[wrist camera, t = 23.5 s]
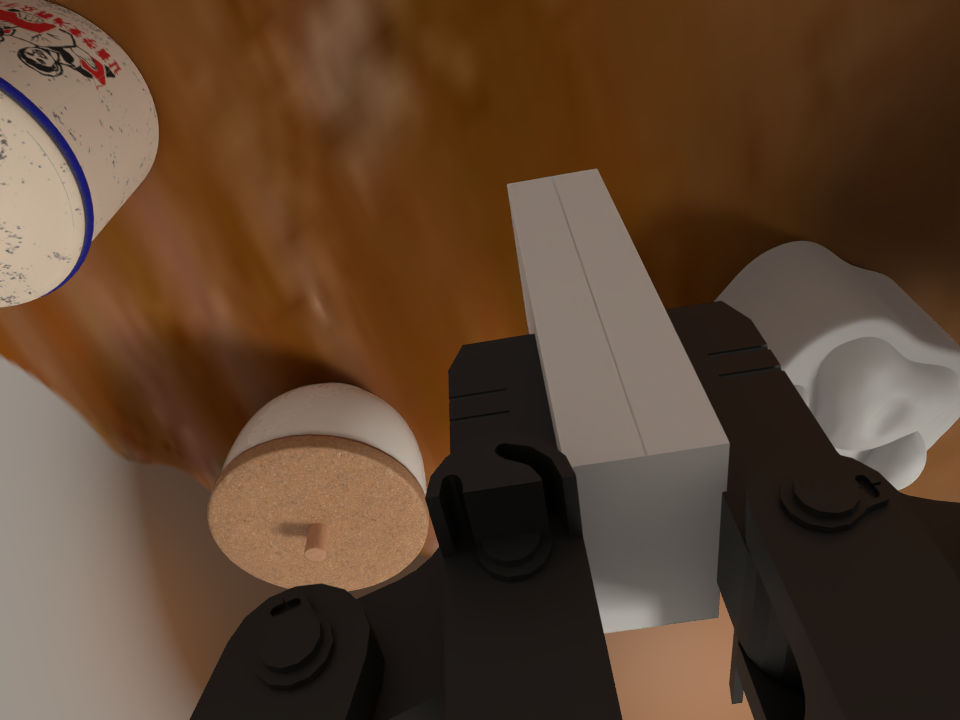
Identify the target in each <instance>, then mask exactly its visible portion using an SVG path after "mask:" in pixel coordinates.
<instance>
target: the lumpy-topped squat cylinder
mask: <svg viewBox="0 0 960 720" xmlns="http://www.w3.org/2000/svg"><path fill="white" fill-rule="evenodd" d="M717 301H723V302H725V303H726V304H728V305H729V306H731V307H732V308H734V309H736V310H737V311H739V312H740V313H742V314H743V315H745V316H747V317H748V318H750V319H751V320H752V322H753V323H754V325H755V326H756V328H757V329H758V331H759V332H760V334H761V335H762V337H763V338H764V340H765V342H766V343H767V347H768V350H769V349H771V351H772V352H773V354H774V355H775V357H776V358H777V360H778V362H779V363H780V365H781V370H782V371H785V372H786V374H787V375H788V377H789V378H790V380H791V382H792V383H793V385H794V386H795V388H796V389H797V391H798V392H799V394H800V395H801V397H802V398H803V400H804V402H805V403H806V405H807V406H808V408H809V409H810V411H811V412H812V414H813V415H814V417H815V418H816V420H817V422H818V423H819V425H820V426H821V428H822V429H823V431H824V432H825V434H826V435H827V437H828V438H829V440H830V442H831V443H832V445H833V446H834V448H835V449H836V451H837V452H838V453H839V454H840V455H843V456H847V457H851V458H853V459H855V460H857V461H859V462H861V463H863V464H865V465H867V466H869V467H871V468H872V469H874V470H876V471H878V472H879V473H880V474H881V475H882V476H883V477H884V478H885V479H886V480H887V481H889V482H890V483H891V484H892V485H893V486H894V487H895V488H896V489H897V490H900V489H903V488H905V487H907V486H908V485H910V484H911V483H912V482H914V481H915V480H916V479H917V478H918V476H919V475H920V474H921V472H922V470H923V468H924V466H925V463H926V451H927V450H928V449H929V448H930V447H931V446H932V445H933V444H934V443H935V442H936V441H937V440H938V438H939V437H940V436H941V435H943V434H944V433H945V432H946V431H947V430H948V429H949V428H950V427H951V426H952V425H953V423H954V422H955V421H956V420H957V419H958V418H959V417H960V346H959V345H958V344H957V343H956V342H955V341H954V340H953V339H952V338H951V337H950V336H949V335H948V333H946V332H945V331H944V330H943V329H942V328H941V327H940V326H939V325H938V324H937V323H936V322H935V321H934V320H933V319H932V318H931V317H930V316H929V315H928V314H927V313H926V312H925V311H924V310H923V309H922V308H921V307H920V306H919V305H918V304H917V303H916V302H915V301H914V300H913V299H912V298H911V297H910V296H909V295H907V294H906V293H905V292H904V291H903V290H902V289H901V288H900V287H899V286H898V285H897V284H896V283H895V282H894V281H893V280H892V279H891V278H889V277H888V276H886V275H884V274H881V273H878V272H874V271H870V270H866V269H862V268H859V267H856V266H853V265H851V264H848V263H847V262H845V261H843V260H842V259H840V258H839V257H838V256H836V255H835V254H834V253H832V252H831V251H830V250H828V249H827V248H825V247H823V246H821V245H819V244H817V243H814V242H810V241H794V242H789V243H785V244H782V245H779V246H777V247H774V248H772V249H770V250H768V251H766V252H764V253H763V254H761V255H760V256H758V257H757V258H755V259H754V260H753V261H751V262H750V263H749V264H748V265H747V266H746V267H745V268H744V269H743V270H742V271H741V272H740V273H739V274H738V275H737V276H736V277H735V278H734V279H733V280H732V281H731V283H730V284H729V285H728V286H727V287H726V288H725V289H724V290H723V292H722V293H721V294H720V295H719V296H718V297H717V298H716V300H715V301H714V302H717Z"/></svg>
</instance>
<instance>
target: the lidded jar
mask: <svg viewBox="0 0 960 720" xmlns="http://www.w3.org/2000/svg"><path fill="white" fill-rule="evenodd" d="M425 496H426V479H425V471H424V465H423V459H422V456H421V453H420V450H419V447H418V444H417V441H416V438H415V436H414V435H413V433H412V431H411V430H410V428H409V426H408V425H407V423H406V421H405V420H404V419H403V418H402V417H401V415H400V414H399V413H398V412H397V411H396V410H395V409H394V408H393V407H391V406H390V405H389V404H388V403H387V402H385V401H384V400H382V399H381V398H379V397H377V396H376V395H374V394H372V393H370V392H367V391H366V390H364V389H361V388H359V387H357V386H353V385H350V384H345V383H336V382H328V383H320V384H312V385H307V386H302V387H299V388H296V389H293V390H290V391H288V392H286V393H283V394H282V395H280V396H278V397H276V398H274V399H272V400H271V401H270V402H268V403H267V404H266V405H264V406H263V407H262V408H261V409H260V410H258V411H257V412H256V413H255V414H254V415H253V417H252V418H251V419H250V420H249V421H248V422H247V424H246V425H245V426H244V428H243V429H242V430H241V432H240V434H239V435H238V437H237V439H236V440H235V442H234V444H233V446H232V447H231V449H230V451H229V453H228V455H227V458H226V460H225V463H224V465H223V469H222V472H221V473H220V475H219V477H218V478H217V480H216V482H215V484H214V487H213V490H212V493H211V496H210V499H209V503H208V512H207V518H208V523H209V528H210V530H211V533H212V535H213V537H214V540H215V542H216V543H217V544H218V546H219V547H220V548H221V550H222V551H223V552H224V554H225V555H226V556H227V557H228V558H229V559H230V560H231V561H232V562H234V563H235V564H236V565H237V566H239V567H240V568H241V569H243V570H245V571H246V572H248V573H250V574H251V575H253V576H255V577H257V578H259V579H262V580H264V581H267V582H268V583H272V584H274V585H277V586H281V587H284V588H289V589H290V588H293V587H295V586H302V585H311V584H320V583H323V584H327V585H330V586H334V587H338V588H341V589H345V590H346V591H352V590H357V589H362V588H365V587H369V586H373V585H375V584H378V583H380V582H382V581H385V580H387V579H389V578H391V577H392V576H394V575H396V574H398V573H399V572H400V571H402V570H403V569H404V568H405V567H407V566H408V565H409V564H410V563H411V562H412V561H413V560H414V558H415V557H416V556H417V555H418V554H419V552H420V550H421V549H422V547H423V545H424V543H425V540H426V537H427V534H428V523H429V512H428V507H427V504H426V501H425Z"/></svg>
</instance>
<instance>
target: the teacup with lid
mask: <svg viewBox="0 0 960 720" xmlns="http://www.w3.org/2000/svg"><path fill="white" fill-rule="evenodd" d="M158 141H159V126H158V118H157V113H156V109H155V105H154V102H153V99H152V96H151V94H150V91H149V89H148V86H147V85H146V83H145V81H144V79H143V77H142V75H141V74H140V72H139V70H138V69H137V67H136V66H135V64H134V63H133V62H132V60H131V59H130V58H129V56H128V55H127V54H126V53H125V52H124V51H123V49H122V48H121V47H120V46H119V45H118V44H117V43H116V42H115V41H114V40H113V39H112V38H111V37H109V36H108V35H107V34H106V33H105V32H104V31H102V30H101V29H100V28H98V27H97V26H96V25H94V24H93V23H91V22H90V21H88V20H87V19H85V18H83V17H82V16H80V15H78V14H76V13H74V12H72V11H71V10H69V9H66V8H64V7H62V6H59V5H57V4H54V3H51V2H48V1H44V0H0V307H8V306H14V305H19V304H22V303H26V302H29V301H32V300H35V299H37V298H40V297H43V296H45V295H47V294H49V293H51V292H53V291H55V290H56V289H58V288H59V287H61V286H62V285H64V284H65V283H66V282H67V281H68V280H69V279H70V278H72V276H73V275H74V274H75V273H76V272H77V271H78V269H79V268H80V266H81V265H82V263H83V262H84V260H85V258H86V256H87V253H88V251H89V248H90V245H91V242H92V241H93V240H94V238H95V237H96V236H97V235H98V234H99V232H100V231H101V230H102V229H103V228H104V227H105V225H106V224H107V223H108V222H109V221H110V219H111V218H112V217H113V216H114V215H115V213H116V212H117V211H118V210H119V209H120V207H121V206H122V205H123V204H124V203H125V202H126V200H127V199H128V198H129V197H130V196H131V194H132V193H133V192H134V191H135V190H136V188H137V187H138V186H139V185H140V184H141V182H142V181H143V180H144V179H145V178H146V176H147V174H148V173H149V171H150V169H151V167H152V165H153V163H154V160H155V157H156V153H157V149H158Z"/></svg>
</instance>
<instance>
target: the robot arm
mask: <svg viewBox="0 0 960 720" xmlns="http://www.w3.org/2000/svg"><path fill="white" fill-rule="evenodd" d="M507 189H508V196H509V202H510V209H511V216H512V223H513V230H514V236H515V243H516V250H517V257H518V264H519V270H520V277H521V284H522V291H523V298H524V304H525V311H526V318H527V324H528V329H529V335H523V336H517V337H510V338H504V339H498V340H492V341H486V342H480V343H473V344H467V345H463V346H462V347H461V349H460V351H459V353H458V354H457V356H456V358H455V360H454V362H453V363H452V365H451V367H450V369H449V370H448V375H449V400H450V403H449V415H450V455H449V456H447V457H446V458H445V459H444V460H443V462H442V463H441V464H440V465H439V467H438V468H437V469H436V470H435V472H434V473H433V474H432V475H431V477H430V481H429V485H428V488H427V492H426V496H425V501H426V504H427V507H428V511H429V514H430V517H431V520H432V524H433V527H434V530H435V534H436V537H437V540H438V543H439V548H438V549H437V550H436V552H435V553H434V554H433V556H432V557H431V558H430V559H428V560H427V561H426V562H425V563H424V564H423V565H422V566H420V567H419V568H418V569H417V570H416V571H414V572H412V573H410V574H409V575H407V576H405V577H403V578H402V579H400V580H398V581H396V582H394V583H392V584H389V585H387V586H385V587H383V588H380V589H378V590H376V591H374V592H372V593H369V594H367V595H365V596H363V597H361V598H358V599H355V598H354V597H353V596H352V595H351V594H350V593H348V592H347V591H346V590H345V589H341V588H338V587H334V586H330V585H327V584H323V583H320V584H311V585H302V586H295V587H293V588H290V589H288V590H286V591H284V592H282V593H279V594H277V595H275V596H272V597H270V598H268V599H267V600H266V601H265V602H264V603H262V604H261V605H260V606H259V607H257V608H256V609H255V610H254V611H253V612H251V613H250V614H249V615H248V616H246V617H245V618H244V620H243V621H242V623H241V624H240V626H239V627H238V628H237V630H236V632H235V633H234V634H233V636H232V637H231V638H230V640H229V641H228V643H227V645H226V647H225V649H224V651H223V653H222V655H221V657H220V659H219V661H218V663H217V665H216V667H215V669H214V671H213V673H212V675H211V677H210V680H209V681H208V683H207V685H206V687H205V689H204V692H203V693H202V696H201V698H200V700H199V702H198V704H197V706H196V708H195V710H194V712H193V714H192V716H191V718H190V720H622V715H621V711H620V706H619V702H618V697H617V693H616V688H615V683H614V678H613V673H612V669H611V664H610V660H609V655H608V650H607V645H606V641H605V636H604V633H610V632H618V631H625V630H632V629H639V628H647V627H654V626H660V625H668V624H676V623H683V622H690V621H697V620H705V619H712V618H718V615H719V600H720V592H721V594H722V597H723V600H724V602H725V605H726V608H727V610H728V613H729V616H730V619H731V621H732V624H733V626H734V636H733V648H732V659H731V670H730V681H729V685H730V693H731V699H732V704H736V703H742V700H743V691H744V692H745V695H746V698H747V701H748V703H749V706H750V709H751V712H752V714H753V717H754V720H960V503H956V502H946V501H937V500H930V499H925V498H919V497H914V496H909V495H906V494H903V493H900V492H898V490H897V489H896V488H895V487H894V486H893V485H892V484H891V483H890V482H889V481H887V480H886V479H885V478H884V477H883V476H882V475H881V474H880V473H879V472H878V471H876V470H874V469H872V468H871V467H869V466H867V465H865V464H863V463H861V462H859V461H857V460H855V459H853V458H851V457H847V456H843V455H840V454H839V453H838V452H837V451H836V449H835V448H834V446H833V445H832V443H831V442H830V440H829V438H828V437H827V435H826V434H825V432H824V431H823V429H822V428H821V426H820V425H819V423H818V422H817V420H816V418H815V417H814V415H813V414H812V412H811V411H810V409H809V408H808V406H807V405H806V403H805V402H804V400H803V398H802V397H801V395H800V394H799V392H798V391H797V389H796V388H795V386H794V385H793V383H792V382H791V380H790V378H789V377H788V375H787V374H786V372H785V371H782V370H781V365H780V363H779V362H778V360H777V358H776V357H775V355H774V354H773V352H772V351H771V349H769V350H768V347H767V343H766V342H765V340H764V338H763V337H762V335H761V334H760V332H759V331H758V329H757V328H756V326H755V325H754V323H753V322H752V320H751V319H750V318H748V317H747V316H745V315H743V314H742V313H740V312H739V311H737V310H736V309H734V308H732V307H731V306H729V305H728V304H726V303H725V302H723V301H717V302H711V303H704V304H698V305H692V306H686V307H680V308H674V309H667V310H665V308H664V306H663V304H662V302H661V300H660V298H659V296H658V294H657V291H656V289H655V287H654V285H653V283H652V281H651V279H650V277H649V275H648V273H647V271H646V269H645V267H644V265H643V263H642V260H641V258H640V256H639V254H638V252H637V250H636V248H635V246H634V244H633V242H632V240H631V238H630V236H629V234H628V231H627V229H626V227H625V225H624V223H623V221H622V219H621V217H620V215H619V213H618V211H617V209H616V207H615V205H614V202H613V200H612V198H611V196H610V194H609V192H608V190H607V188H606V186H605V184H604V182H603V180H602V178H601V176H600V174H599V171H598V169H591V170H585V171H579V172H574V173H568V174H562V175H556V176H551V177H545V178H539V179H533V180H528V181H522V182H516V183H510V184H507Z"/></svg>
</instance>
